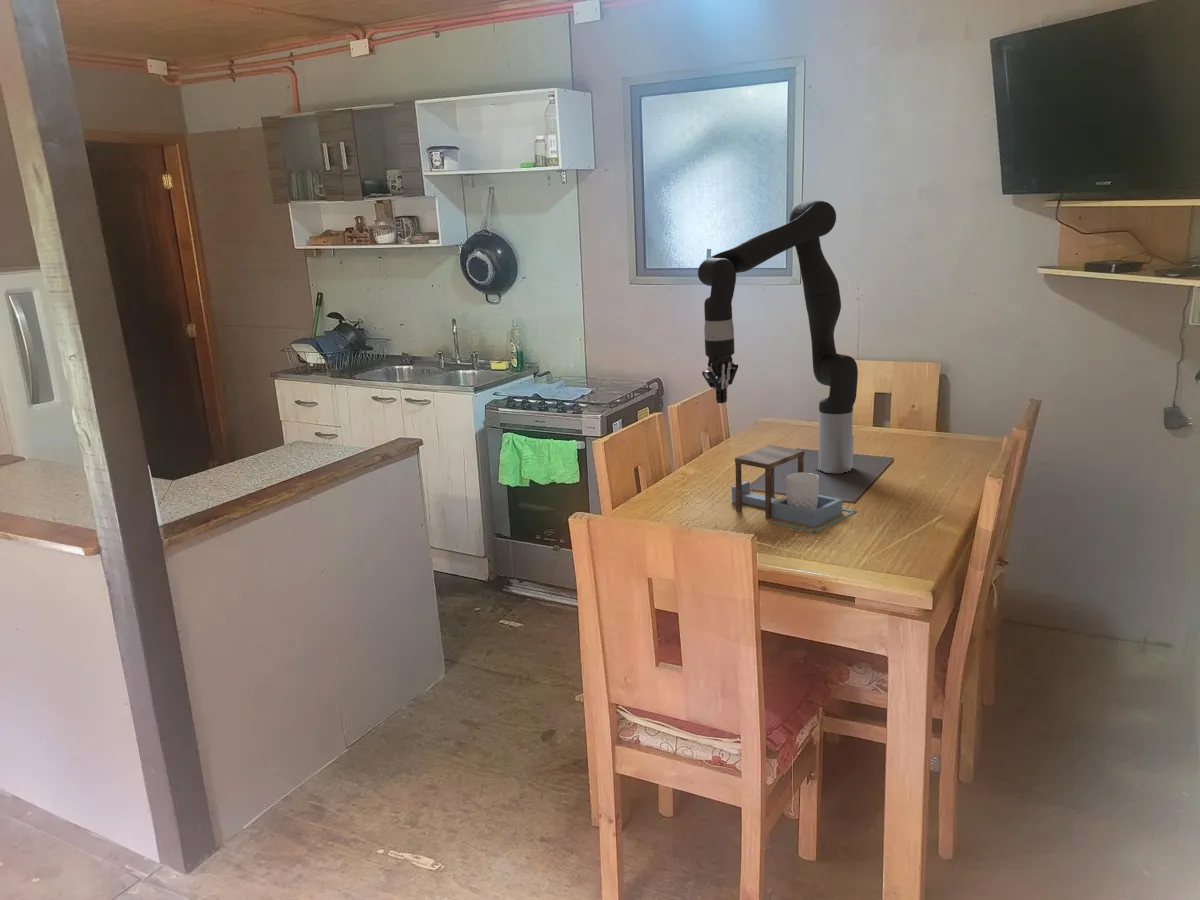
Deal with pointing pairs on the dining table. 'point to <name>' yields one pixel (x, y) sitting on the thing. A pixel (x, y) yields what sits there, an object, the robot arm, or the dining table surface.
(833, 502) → the sled frame
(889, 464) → the dining table surface
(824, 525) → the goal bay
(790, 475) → the white cup
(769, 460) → the small brown wooden table
